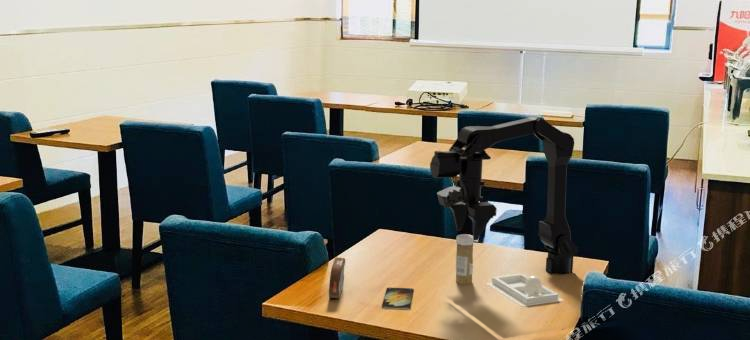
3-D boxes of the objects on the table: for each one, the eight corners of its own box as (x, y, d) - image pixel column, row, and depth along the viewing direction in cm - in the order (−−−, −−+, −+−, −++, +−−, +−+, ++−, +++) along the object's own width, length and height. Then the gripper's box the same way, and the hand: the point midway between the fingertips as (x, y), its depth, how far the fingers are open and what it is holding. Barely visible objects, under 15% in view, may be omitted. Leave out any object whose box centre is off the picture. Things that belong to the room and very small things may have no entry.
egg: (535, 292, 215) (536, 272, 214) (545, 298, 211) (546, 277, 210) (520, 294, 213) (521, 274, 212) (529, 300, 209) (530, 279, 208)
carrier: (525, 281, 226) (526, 272, 226) (564, 304, 210) (564, 294, 210) (485, 286, 222) (486, 277, 222) (522, 310, 206) (522, 300, 205)
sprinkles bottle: (475, 286, 222) (477, 236, 220) (462, 289, 220) (464, 239, 217) (464, 281, 226) (466, 232, 223) (451, 284, 224) (452, 235, 221)
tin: (334, 283, 224) (334, 252, 222) (346, 283, 224) (346, 252, 222) (327, 303, 209) (327, 270, 207) (340, 303, 209) (340, 271, 207)
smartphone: (414, 288, 220) (410, 308, 205) (414, 290, 220) (410, 311, 205) (386, 287, 221) (381, 307, 206) (386, 289, 221) (381, 309, 206)
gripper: (426, 170, 223) (423, 228, 226) (459, 185, 206) (455, 247, 209) (464, 168, 227) (461, 225, 230) (499, 183, 210) (495, 244, 213)
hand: (467, 235), depth 220 cm, fingers open, 9 cm apart
